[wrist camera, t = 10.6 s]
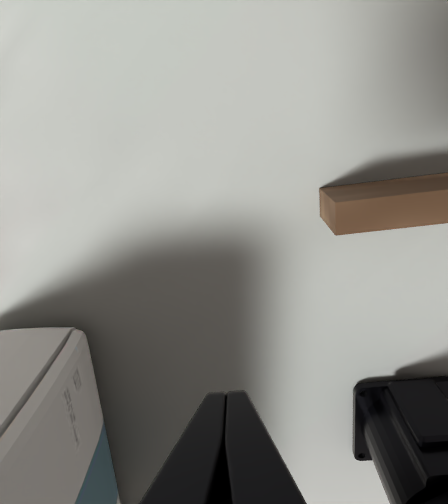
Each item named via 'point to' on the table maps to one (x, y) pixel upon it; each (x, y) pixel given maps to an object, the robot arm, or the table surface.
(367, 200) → the rack bay
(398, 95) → the table surface
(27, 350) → the stereo radio cassette player
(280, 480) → the robot arm
